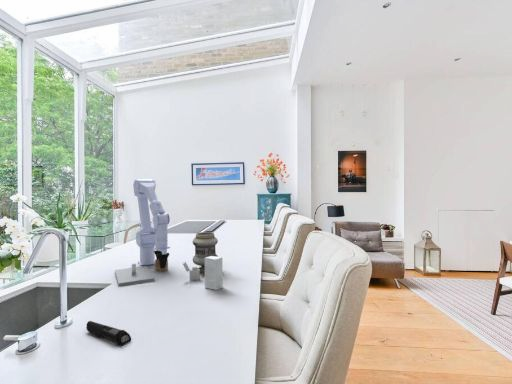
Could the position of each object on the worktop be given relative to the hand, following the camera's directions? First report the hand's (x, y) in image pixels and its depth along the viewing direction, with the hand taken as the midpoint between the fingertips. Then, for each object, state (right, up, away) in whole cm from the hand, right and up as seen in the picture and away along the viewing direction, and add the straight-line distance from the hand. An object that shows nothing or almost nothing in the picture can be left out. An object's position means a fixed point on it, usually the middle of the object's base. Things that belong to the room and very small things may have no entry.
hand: (161, 266), depth 143 cm
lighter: (+18, -2, -15) cm, 23 cm away
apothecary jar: (+22, -2, -2) cm, 22 cm away
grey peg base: (-9, -2, -11) cm, 14 cm away
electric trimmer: (+6, -3, -64) cm, 64 cm away
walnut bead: (0, -2, 0) cm, 2 cm away
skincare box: (+29, -2, -25) cm, 38 cm away
